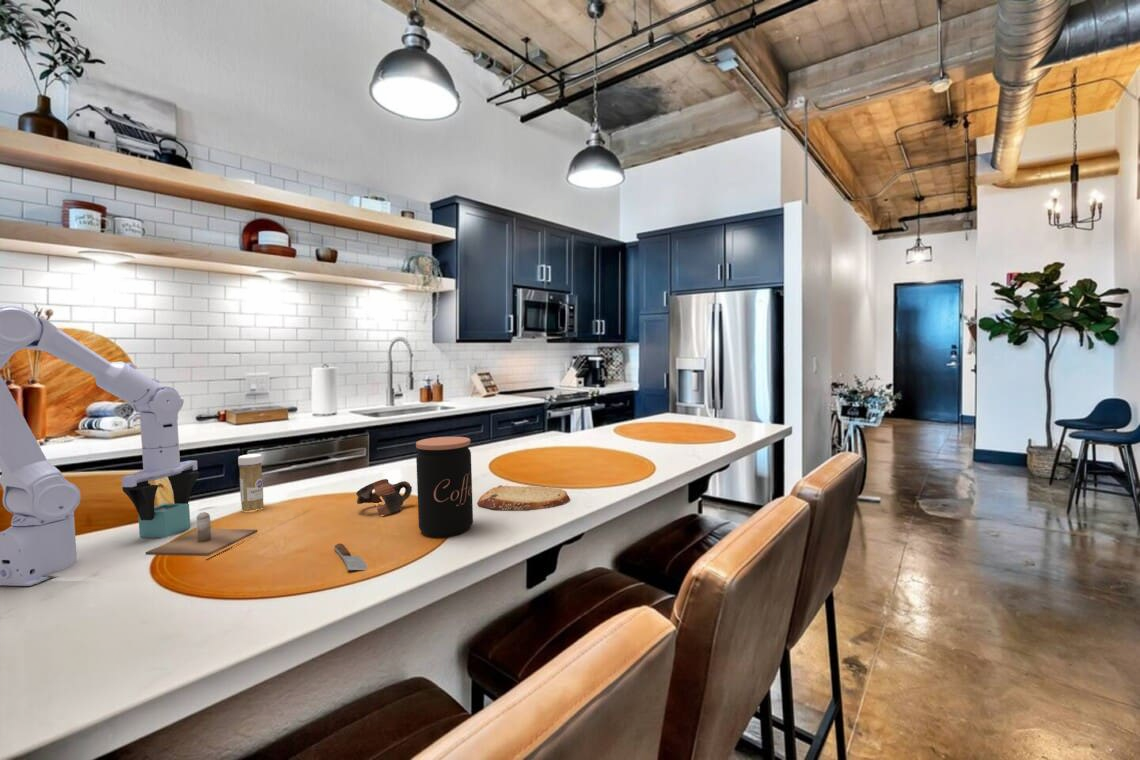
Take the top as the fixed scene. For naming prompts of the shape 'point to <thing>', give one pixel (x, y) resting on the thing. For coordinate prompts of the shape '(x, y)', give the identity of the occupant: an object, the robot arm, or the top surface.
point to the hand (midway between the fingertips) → (165, 513)
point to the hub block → (202, 540)
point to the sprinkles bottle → (251, 481)
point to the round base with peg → (164, 537)
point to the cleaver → (350, 558)
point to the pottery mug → (385, 495)
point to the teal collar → (166, 521)
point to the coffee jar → (444, 486)
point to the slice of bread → (522, 498)
